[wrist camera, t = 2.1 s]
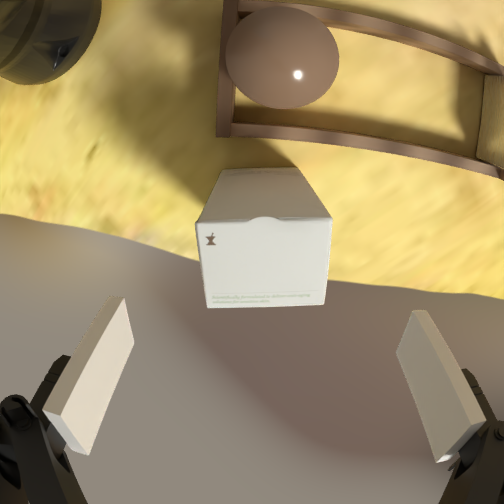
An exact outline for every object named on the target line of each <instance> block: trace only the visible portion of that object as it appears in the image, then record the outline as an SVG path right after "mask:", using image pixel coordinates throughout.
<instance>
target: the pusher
mask: <svg viewBox="0 0 504 504" xmlns="http://www.w3.org/2000/svg"><path fill="white" fill-rule="evenodd" d="M476 157H477V158H480V159H482V160H484V161H487V162H489V163H492V164H494V165H496V166H498V167H501V168H503V169H504V76H495V75H485V83H484V96H483V107H482V116H481V125H480V132H479V139H478V145H477V151H476Z"/></svg>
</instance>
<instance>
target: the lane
mask: <svg viewBox="0 0 504 504" xmlns="http://www.w3.org/2000/svg"><path fill="white" fill-rule="evenodd" d="M275 6H286V7H292V8H297V9H300V10H303V11H305V12H308V13H309V14H311V15H313V16H315V17H316V18H317V19H319V20H320V21H321V22H322V23H323V24H324V25H325V26H326V27H332V28H338V29H344V30H349V31H354V32H359V33H364V34H368V35H373V36H377V37H381V38H385V39H389V40H392V41H396V42H400V43H403V44H407V45H410V46H413V47H417V48H420V49H423V50H426V51H429V52H432V53H435V54H438V55H441V56H443V57H446V58H449V59H451V60H454V61H457V62H459V63H462V64H464V65H466V66H469V67H471V68H474V69H476V70H478V71H480V72H483V73H485V74H487V75H495V76H504V66H502V65H500V64H498V63H496V62H494V61H492V60H490V59H488V58H486V57H484V56H482V55H480V54H478V53H476V52H473V51H471V50H469V49H467V48H464V47H462V46H460V45H457V44H455V43H452V42H450V41H447V40H445V39H442V38H439V37H437V36H434V35H431V34H428V33H425V32H422V31H419V30H416V29H413V28H410V27H407V26H404V25H400V24H397V23H393V22H390V21H386V20H382V19H378V18H374V17H370V16H366V15H361V14H357V13H352V12H347V11H342V10H336V9H331V8H324V7H318V6H311V5H303V4H294V3H284V2H272V1H253V0H224V3H223V16H222V29H221V44H220V60H219V77H218V97H217V119H216V137H228V138H229V137H230V136H235V137H254V138H269V139H282V140H294V141H304V142H314V143H322V144H331V145H339V146H346V147H353V148H360V149H367V150H373V151H379V152H385V153H391V154H397V155H402V156H407V157H413V158H418V159H422V160H427V161H432V162H437V163H441V164H445V165H450V166H454V167H458V168H462V169H466V170H470V171H474V172H478V173H482V174H485V175H489V176H492V177H496V178H499V179H501V180H503V181H504V169H502V168H500V167H498V166H496V165H493V164H490V163H487V162H483V161H480V160H477V159H473V158H470V157H466V156H462V155H459V154H455V153H451V152H447V151H443V150H439V149H435V148H430V147H426V146H422V145H417V144H412V143H408V142H403V141H398V140H393V139H387V138H382V137H376V136H370V135H364V134H358V133H351V132H345V131H337V130H330V129H322V128H313V127H304V126H294V125H283V124H270V123H255V122H236V121H234V109H235V90H236V85H235V84H234V82H233V81H232V79H231V77H230V75H229V73H228V70H227V66H226V60H225V52H226V46H227V42H228V39H229V37H230V35H231V33H232V31H233V30H234V28H235V27H236V26H237V25H238V23H239V22H240V19H244V18H245V17H247V16H248V15H250V14H251V13H253V12H255V11H258V10H261V9H264V8H268V7H275Z"/></svg>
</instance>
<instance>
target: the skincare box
mask: <svg viewBox="0 0 504 504" xmlns="http://www.w3.org/2000/svg"><path fill="white" fill-rule="evenodd" d="M195 230H196V238H197V246H198V253H199V260H200V266H201V273H202V279H203V285H204V292H205V298H206V303H207V308H233V307H274V306H302V305H322V304H324V300H325V293H326V285H327V277H328V268H329V258H330V246H331V234H332V217H331V215H330V214H329V213H328V211H327V209H326V208H325V206H324V205H323V203H322V202H321V201H320V199H319V198H318V196H317V195H316V193H315V192H314V190H313V189H312V187H311V186H310V184H309V183H308V181H307V180H306V178H305V177H304V176H303V174H302V173H301V171H300V170H299V169H298V168H294V167H278V168H241V169H226V170H222V171H221V173H220V175H219V177H218V180H217V182H216V184H215V186H214V188H213V190H212V192H211V194H210V196H209V198H208V200H207V202H206V205H205V207H204V209H203V211H202V213H201V215H200V217H199V218H198V220H197V221H196V222H195Z"/></svg>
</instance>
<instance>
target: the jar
mask: <svg viewBox="0 0 504 504" xmlns="http://www.w3.org/2000/svg"><path fill="white" fill-rule="evenodd" d="M225 60H226V66H227V70H228V73H229V75H230V77H231V79H232V81H233V82H234V84H235V85H236V87H237V88H238V89H239V90H240V91H241V92H242V93H243V94H244V95H245V96H247V97H248V98H250V99H251V100H253V101H255V102H256V103H259V104H261V105H264V106H267V107H271V108H277V109H293V108H298V107H302V106H305V105H308V104H310V103H312V102H314V101H316V100H317V99H319V98H320V97H321V96H322V95H323V94H325V93H326V91H327V90H328V89H329V88H330V87H331V85H332V83H333V82H334V80H335V78H336V75H337V72H338V67H339V53H338V48H337V44H336V42H335V39H334V37H333V35H332V34H331V32H330V31H329V29H328V28H327V27H326V26H325V25H324V24H323V23H322V22H321V21H320V20H319V19H317V18H316V17H315V16H313V15H311V14H309V13H308V12H305V11H303V10H300V9H297V8H292V7H286V6H275V7H268V8H264V9H261V10H258V11H255V12H253V13H251V14H250V15H248V16H247V17H245V18H244V19H243V20H242V21H240V22H239V23H238V25H237V26H236V27H235V28H234V30H233V31H232V33H231V35H230V37H229V39H228V42H227V46H226V52H225Z"/></svg>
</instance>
